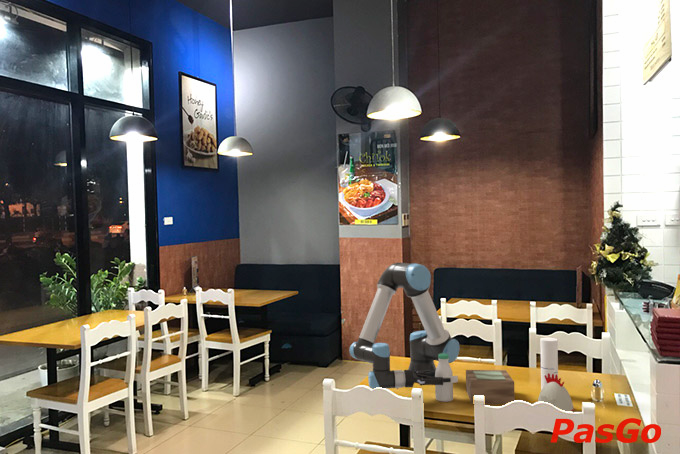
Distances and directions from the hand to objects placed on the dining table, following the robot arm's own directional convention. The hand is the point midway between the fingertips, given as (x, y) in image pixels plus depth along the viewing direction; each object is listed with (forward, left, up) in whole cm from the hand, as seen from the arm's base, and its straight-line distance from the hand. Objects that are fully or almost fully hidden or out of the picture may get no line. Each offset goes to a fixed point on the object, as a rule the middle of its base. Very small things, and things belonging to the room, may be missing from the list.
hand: (454, 376), depth 242 cm
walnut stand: (-2, +15, -10) cm, 18 cm away
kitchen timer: (+13, +39, -10) cm, 43 cm away
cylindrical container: (-6, +42, -10) cm, 44 cm away
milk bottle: (+1, -5, -10) cm, 11 cm away
